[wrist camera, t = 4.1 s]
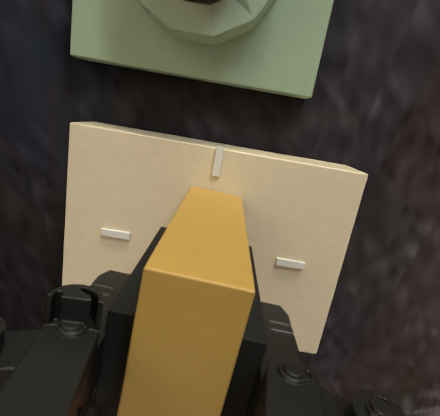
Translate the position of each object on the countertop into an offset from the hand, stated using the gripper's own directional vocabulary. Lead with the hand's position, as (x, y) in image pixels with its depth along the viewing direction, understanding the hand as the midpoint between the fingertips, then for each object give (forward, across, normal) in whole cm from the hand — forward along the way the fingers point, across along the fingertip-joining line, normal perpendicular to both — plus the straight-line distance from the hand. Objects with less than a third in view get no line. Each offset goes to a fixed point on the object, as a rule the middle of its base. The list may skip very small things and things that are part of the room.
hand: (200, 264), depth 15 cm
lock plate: (+5, 0, 0) cm, 5 cm away
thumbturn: (+2, 0, 0) cm, 2 cm away
